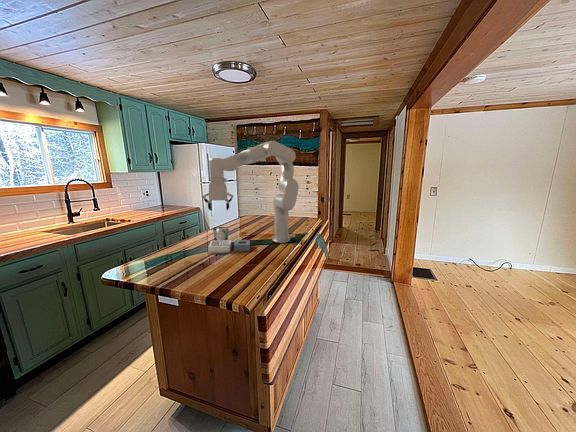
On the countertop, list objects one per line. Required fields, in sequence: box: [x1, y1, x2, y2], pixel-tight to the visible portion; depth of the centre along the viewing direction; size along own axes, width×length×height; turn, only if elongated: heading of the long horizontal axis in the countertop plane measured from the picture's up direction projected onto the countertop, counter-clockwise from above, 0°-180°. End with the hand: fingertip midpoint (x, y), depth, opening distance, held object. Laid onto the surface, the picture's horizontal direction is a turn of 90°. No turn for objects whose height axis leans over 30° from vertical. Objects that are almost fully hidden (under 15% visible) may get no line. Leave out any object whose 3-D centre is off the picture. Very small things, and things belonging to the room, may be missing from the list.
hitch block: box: [233, 239, 251, 253], centre depth 142 cm, size 9×9×4 cm
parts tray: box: [207, 239, 232, 255], centre depth 140 cm, size 12×12×4 cm
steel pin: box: [217, 228, 223, 246], centre depth 139 cm, size 3×3×12 cm
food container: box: [212, 226, 230, 241], centre depth 153 cm, size 12×6×10 cm, turn 58°
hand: (218, 210), depth 135 cm, fingers open, 9 cm apart
